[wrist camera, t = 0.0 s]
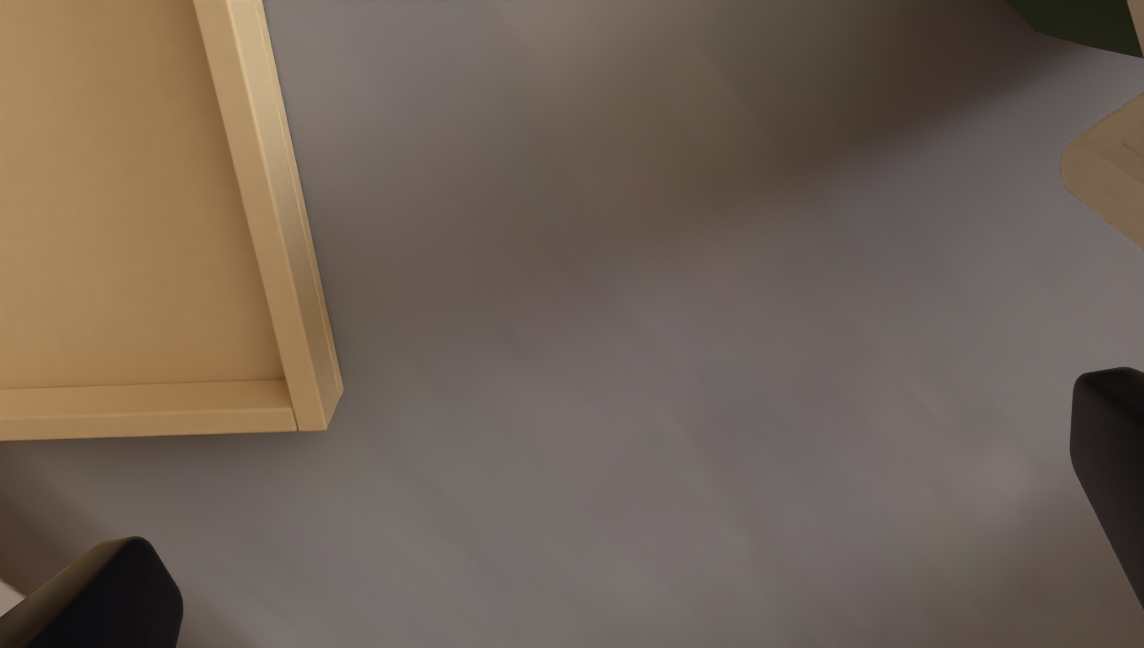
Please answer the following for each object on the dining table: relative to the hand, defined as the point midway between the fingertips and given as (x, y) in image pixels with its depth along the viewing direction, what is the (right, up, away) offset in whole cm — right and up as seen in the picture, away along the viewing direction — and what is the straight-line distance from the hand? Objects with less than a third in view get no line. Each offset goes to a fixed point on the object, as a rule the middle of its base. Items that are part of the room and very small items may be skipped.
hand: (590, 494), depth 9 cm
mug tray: (-13, +6, +13) cm, 20 cm away
